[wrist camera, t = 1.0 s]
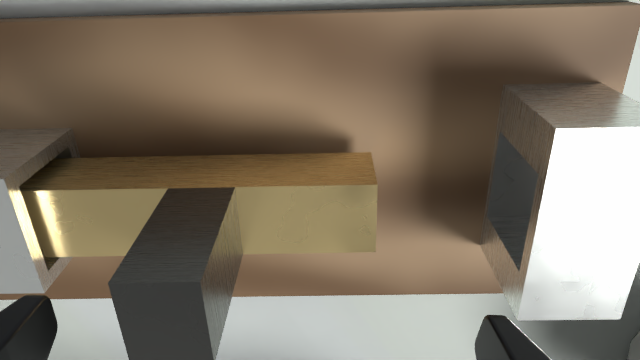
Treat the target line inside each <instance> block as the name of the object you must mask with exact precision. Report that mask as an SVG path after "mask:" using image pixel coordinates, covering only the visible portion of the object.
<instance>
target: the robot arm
mask: <svg viewBox="0 0 640 360" xmlns="http://www.w3.org/2000/svg"><path fill="white" fill-rule="evenodd" d="M56 333H57V320H56V317H55V314H54V310H53V307H52V304H51V301H50V298H49V297H48V296H46V295H25V296H23V297H21V298H20V299H18V300H17V301H15V302H14V303H12V304H11V305H9V306H8V307H7V308H5V309H4V310H2V311H1V312H0V360H47V359H48V356H49V353H50V351H51V348H52V345H53V342H54V339H55V337H56ZM475 353H476V359H477V360H551V359H550V358H549V357H548V356H547V355H546V354H545V353H544V352H543V351H542V350H541V349H540V348H539V347H538V346H537V345H536V344H535V343H534V342H533V341H532V340H530V339H529V338H528V337H527V336H526V335H525V334H524V333H523V332H522V331H521V330H520V329H519V328H518V327H517V326H516V325H515V324H514V323H513V322H512V321H511V320H510V319H508V318H507V317H505V316H502V315H487V316H485V317H484V319H483V321H482V324H481V327H480V330H479V332H478V335H477V338H476V341H475Z"/></svg>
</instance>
